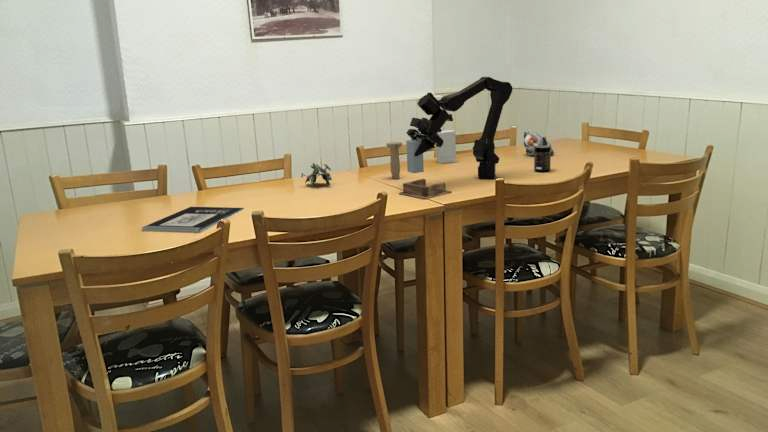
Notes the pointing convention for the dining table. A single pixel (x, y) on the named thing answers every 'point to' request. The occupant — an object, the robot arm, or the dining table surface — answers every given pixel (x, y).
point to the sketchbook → (192, 219)
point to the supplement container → (542, 158)
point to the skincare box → (446, 147)
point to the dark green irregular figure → (319, 171)
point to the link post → (414, 157)
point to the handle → (395, 159)
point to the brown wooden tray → (423, 189)
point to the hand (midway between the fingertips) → (411, 155)
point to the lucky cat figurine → (534, 142)
